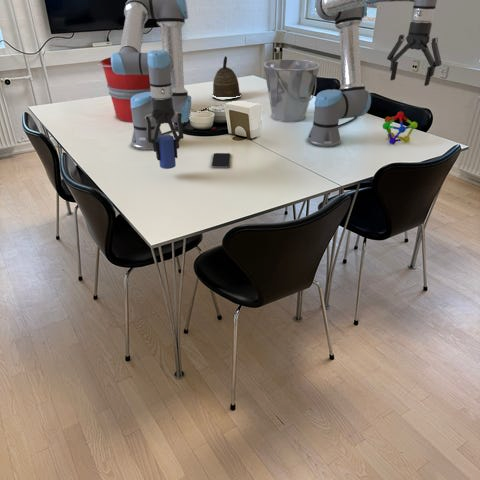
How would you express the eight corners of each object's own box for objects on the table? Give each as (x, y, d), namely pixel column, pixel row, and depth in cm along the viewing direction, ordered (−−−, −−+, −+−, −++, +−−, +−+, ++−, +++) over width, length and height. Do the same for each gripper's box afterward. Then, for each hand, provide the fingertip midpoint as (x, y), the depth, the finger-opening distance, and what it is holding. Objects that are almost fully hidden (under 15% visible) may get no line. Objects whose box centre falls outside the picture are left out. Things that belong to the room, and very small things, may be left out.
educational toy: (377, 146, 209) (379, 114, 202) (384, 138, 219) (386, 107, 211) (411, 149, 202) (415, 116, 195) (417, 141, 212) (420, 109, 204)
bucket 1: (116, 106, 262) (108, 51, 246) (175, 107, 261) (171, 52, 245) (98, 124, 233) (88, 63, 217) (164, 125, 232) (159, 64, 216)
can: (159, 169, 171) (156, 140, 165) (160, 162, 176) (157, 134, 170) (175, 168, 171) (172, 139, 165) (176, 162, 176) (174, 134, 170)
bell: (227, 105, 294) (202, 96, 282) (238, 66, 289) (213, 55, 277) (243, 108, 280) (217, 98, 268) (255, 66, 275) (229, 55, 263)
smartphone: (211, 166, 183) (213, 153, 196) (211, 167, 184) (213, 154, 196) (229, 166, 183) (230, 153, 196) (229, 168, 184) (230, 154, 196)
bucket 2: (289, 128, 228) (292, 72, 213) (250, 116, 247) (251, 63, 232) (326, 117, 245) (332, 64, 230) (287, 106, 263) (290, 56, 249)
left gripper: (137, 102, 154) (144, 164, 166) (190, 97, 160) (193, 158, 172) (133, 97, 159) (140, 157, 172) (184, 92, 166) (188, 151, 178)
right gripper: (384, 19, 165) (375, 79, 176) (452, 25, 151) (437, 89, 162) (393, 18, 169) (383, 76, 181) (460, 23, 155) (445, 85, 167)
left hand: (167, 157), depth 172 cm, fingers closed on can, 6 cm apart
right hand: (409, 82), depth 171 cm, fingers open, 13 cm apart
